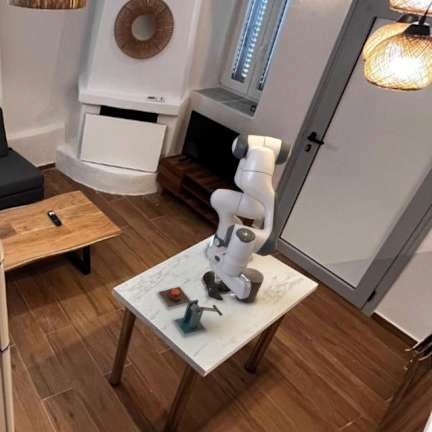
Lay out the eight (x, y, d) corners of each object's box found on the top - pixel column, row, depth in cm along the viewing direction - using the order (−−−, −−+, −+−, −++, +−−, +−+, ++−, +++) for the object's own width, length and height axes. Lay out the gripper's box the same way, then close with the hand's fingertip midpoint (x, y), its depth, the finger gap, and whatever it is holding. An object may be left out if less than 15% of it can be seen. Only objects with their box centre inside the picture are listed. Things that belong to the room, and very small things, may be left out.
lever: (212, 307, 177) (216, 303, 175) (220, 317, 172) (224, 313, 171) (187, 304, 169) (190, 300, 168) (195, 314, 165) (198, 310, 164)
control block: (178, 289, 192) (180, 284, 190) (189, 302, 185) (190, 297, 183) (158, 294, 189) (159, 289, 187) (168, 308, 182) (169, 303, 180)
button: (176, 290, 187) (176, 287, 186) (180, 295, 184) (181, 293, 183) (169, 292, 186) (170, 289, 185) (173, 297, 183) (174, 294, 182)
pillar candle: (241, 304, 184) (250, 282, 175) (228, 289, 192) (237, 267, 183) (259, 301, 186) (270, 278, 177) (246, 286, 193) (256, 263, 184)
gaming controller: (224, 301, 184) (217, 293, 183) (213, 305, 187) (206, 297, 185) (221, 286, 192) (214, 278, 190) (211, 290, 195) (204, 283, 193)
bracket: (193, 316, 178) (200, 295, 170) (204, 330, 172) (212, 309, 164) (174, 321, 176) (180, 300, 168) (184, 336, 170) (191, 314, 162)
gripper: (259, 281, 151) (247, 306, 159) (223, 248, 166) (215, 272, 174) (245, 285, 149) (234, 310, 157) (211, 251, 165) (203, 275, 173)
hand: (224, 290), depth 166 cm, fingers open, 8 cm apart
